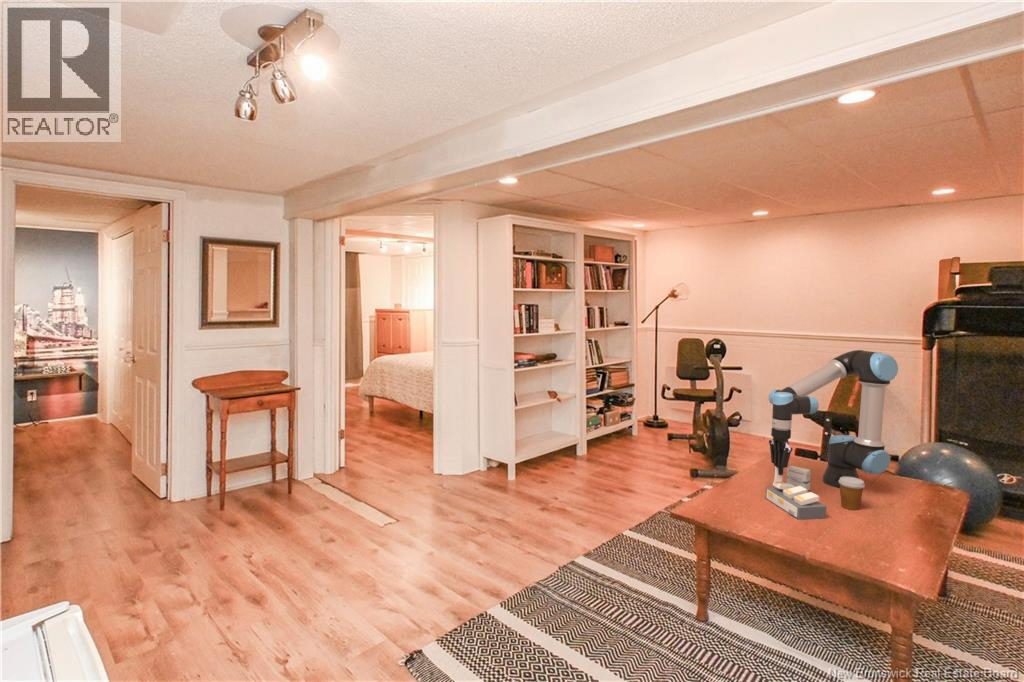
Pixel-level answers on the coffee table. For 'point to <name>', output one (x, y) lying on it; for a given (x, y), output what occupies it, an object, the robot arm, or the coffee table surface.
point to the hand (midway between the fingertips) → (778, 481)
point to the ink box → (799, 477)
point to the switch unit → (795, 505)
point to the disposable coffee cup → (851, 492)
